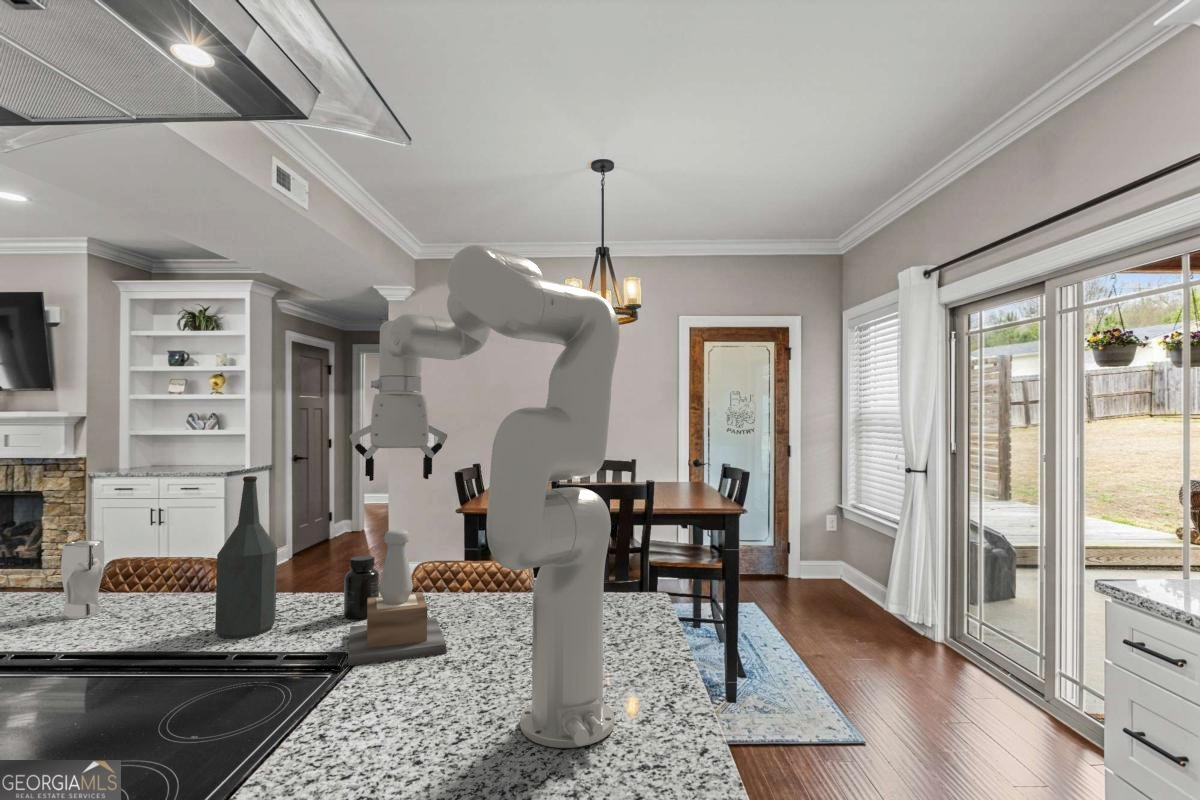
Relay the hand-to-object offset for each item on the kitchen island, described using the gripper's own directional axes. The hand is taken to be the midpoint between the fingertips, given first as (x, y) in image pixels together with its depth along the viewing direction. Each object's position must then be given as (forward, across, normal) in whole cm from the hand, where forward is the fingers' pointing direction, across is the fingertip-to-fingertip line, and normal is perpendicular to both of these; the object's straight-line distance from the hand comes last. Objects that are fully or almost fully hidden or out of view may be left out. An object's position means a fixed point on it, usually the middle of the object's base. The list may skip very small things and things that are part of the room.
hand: (399, 479), depth 113 cm
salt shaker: (+22, 0, 0) cm, 23 cm away
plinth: (+30, 0, 0) cm, 30 cm away
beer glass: (+30, -61, +41) cm, 80 cm away
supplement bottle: (+30, -6, +20) cm, 37 cm away
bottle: (+30, -27, +18) cm, 44 cm away
